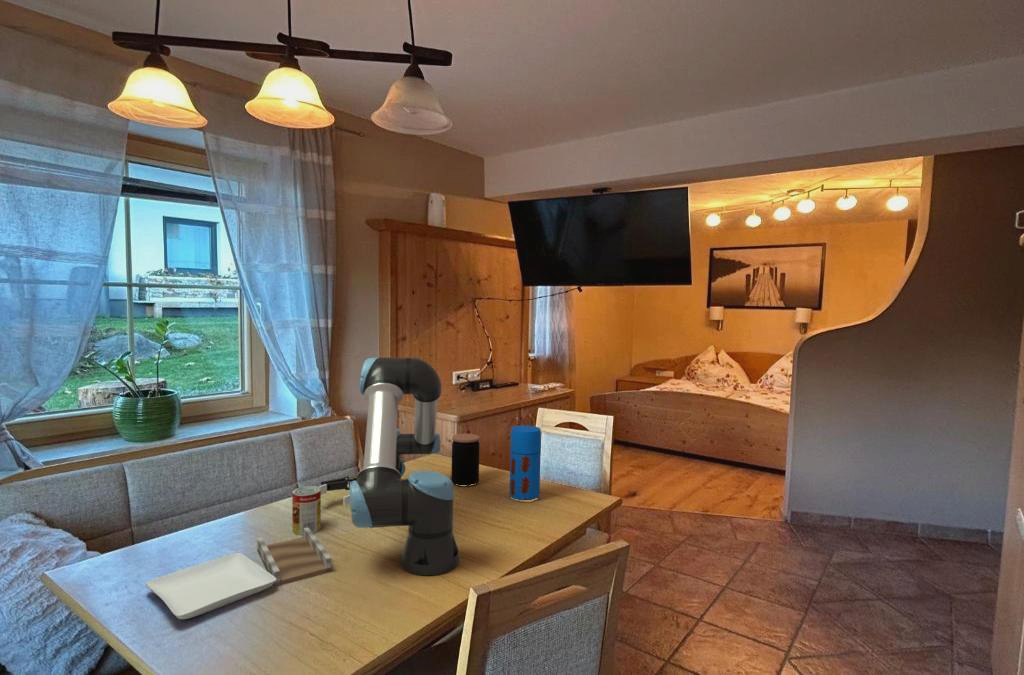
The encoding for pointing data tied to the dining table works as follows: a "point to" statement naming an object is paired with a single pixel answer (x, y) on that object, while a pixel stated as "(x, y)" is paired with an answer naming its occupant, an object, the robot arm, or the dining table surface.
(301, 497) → the canned food
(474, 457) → the coffee jar
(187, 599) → the salad plate
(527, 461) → the thermos
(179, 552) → the dining table surface
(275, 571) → the track
